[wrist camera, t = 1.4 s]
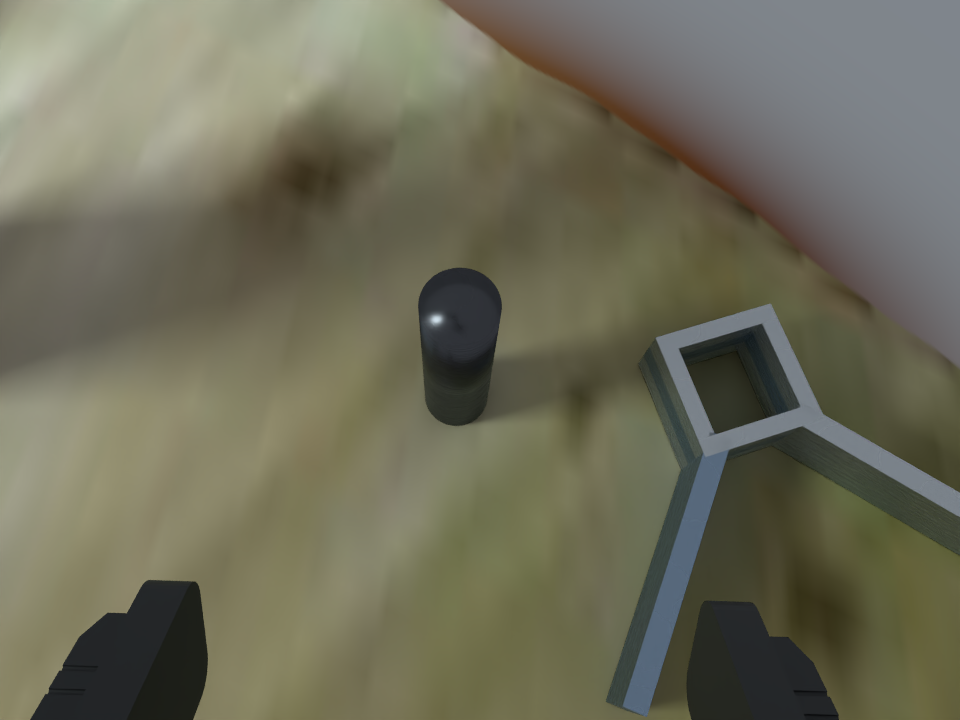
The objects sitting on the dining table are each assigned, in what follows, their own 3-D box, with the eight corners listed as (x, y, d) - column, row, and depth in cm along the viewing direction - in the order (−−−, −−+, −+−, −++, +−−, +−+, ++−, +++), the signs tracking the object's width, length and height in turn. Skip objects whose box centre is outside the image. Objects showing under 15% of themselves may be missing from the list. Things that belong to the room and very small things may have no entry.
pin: (435, 433, 40) (432, 354, 29) (417, 376, 40) (408, 280, 30) (495, 415, 40) (512, 331, 30) (476, 359, 41) (486, 258, 31)
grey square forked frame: (503, 404, 40) (508, 381, 37) (868, 294, 43) (904, 263, 40) (611, 716, 36) (628, 723, 32) (1011, 572, 38) (1065, 563, 35)
